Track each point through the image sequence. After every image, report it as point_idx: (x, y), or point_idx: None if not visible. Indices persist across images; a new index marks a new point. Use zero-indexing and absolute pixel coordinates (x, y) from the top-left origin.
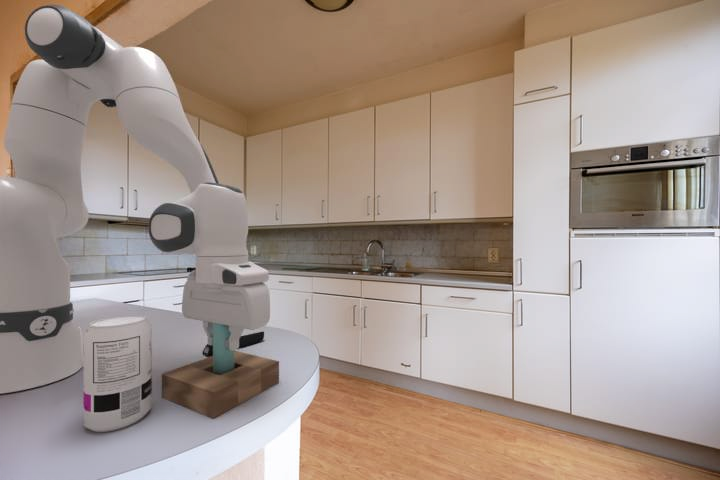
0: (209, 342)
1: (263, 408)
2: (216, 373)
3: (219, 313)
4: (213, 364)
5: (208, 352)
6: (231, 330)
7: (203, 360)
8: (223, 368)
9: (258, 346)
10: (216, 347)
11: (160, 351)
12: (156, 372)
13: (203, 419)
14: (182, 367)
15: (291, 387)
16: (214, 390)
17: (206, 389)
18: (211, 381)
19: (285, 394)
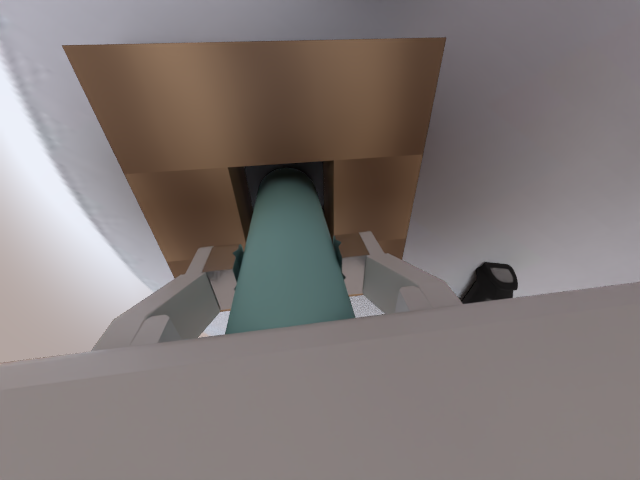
0: (359, 237)
1: (92, 179)
2: (278, 180)
3: (179, 455)
4: (298, 190)
5: (489, 271)
6: (139, 326)
7: (400, 208)
8: (257, 199)
9: None
10: (275, 224)
11: (635, 220)
12: (553, 142)
13: (145, 33)
14: (419, 132)
15: (160, 275)
16: (83, 62)
17: (117, 46)
18: (192, 113)
19: (133, 249)
